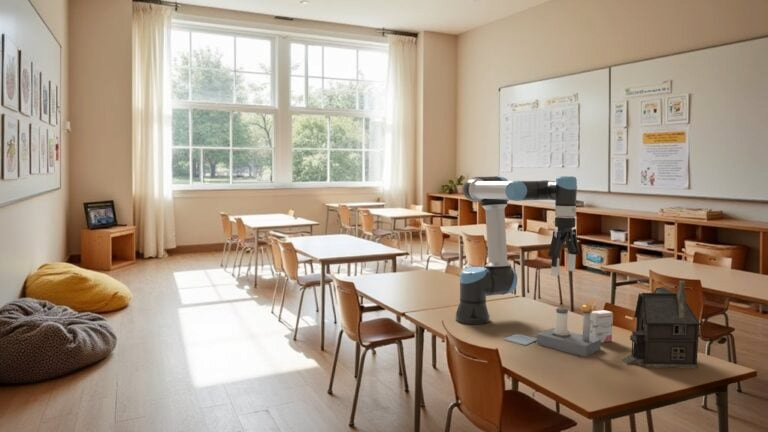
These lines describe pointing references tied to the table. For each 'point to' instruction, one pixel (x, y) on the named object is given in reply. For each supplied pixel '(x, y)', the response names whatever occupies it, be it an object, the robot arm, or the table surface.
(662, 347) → the model house
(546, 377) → the table surface
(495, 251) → the robot arm
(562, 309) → the plug
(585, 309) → the wooden lever
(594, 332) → the ink box
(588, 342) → the socket
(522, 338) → the mat
